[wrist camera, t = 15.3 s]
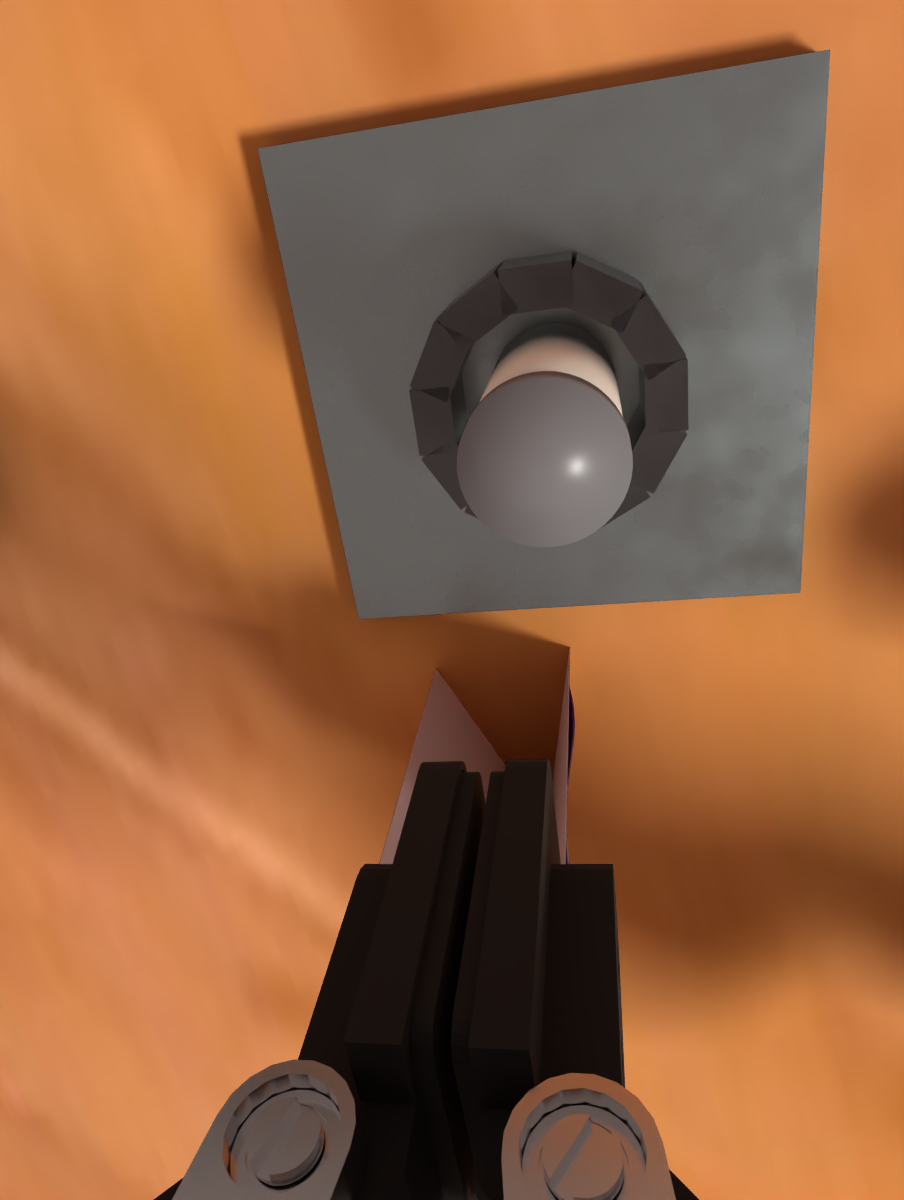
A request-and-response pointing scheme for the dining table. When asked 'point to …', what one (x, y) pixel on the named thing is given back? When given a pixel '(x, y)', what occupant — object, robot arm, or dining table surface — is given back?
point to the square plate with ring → (575, 297)
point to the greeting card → (475, 755)
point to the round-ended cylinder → (547, 440)
